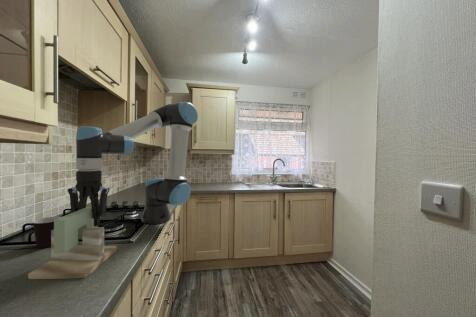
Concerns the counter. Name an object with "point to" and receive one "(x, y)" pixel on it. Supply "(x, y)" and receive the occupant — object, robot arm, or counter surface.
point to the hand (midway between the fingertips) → (88, 234)
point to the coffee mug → (43, 231)
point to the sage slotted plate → (71, 229)
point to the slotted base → (70, 267)
